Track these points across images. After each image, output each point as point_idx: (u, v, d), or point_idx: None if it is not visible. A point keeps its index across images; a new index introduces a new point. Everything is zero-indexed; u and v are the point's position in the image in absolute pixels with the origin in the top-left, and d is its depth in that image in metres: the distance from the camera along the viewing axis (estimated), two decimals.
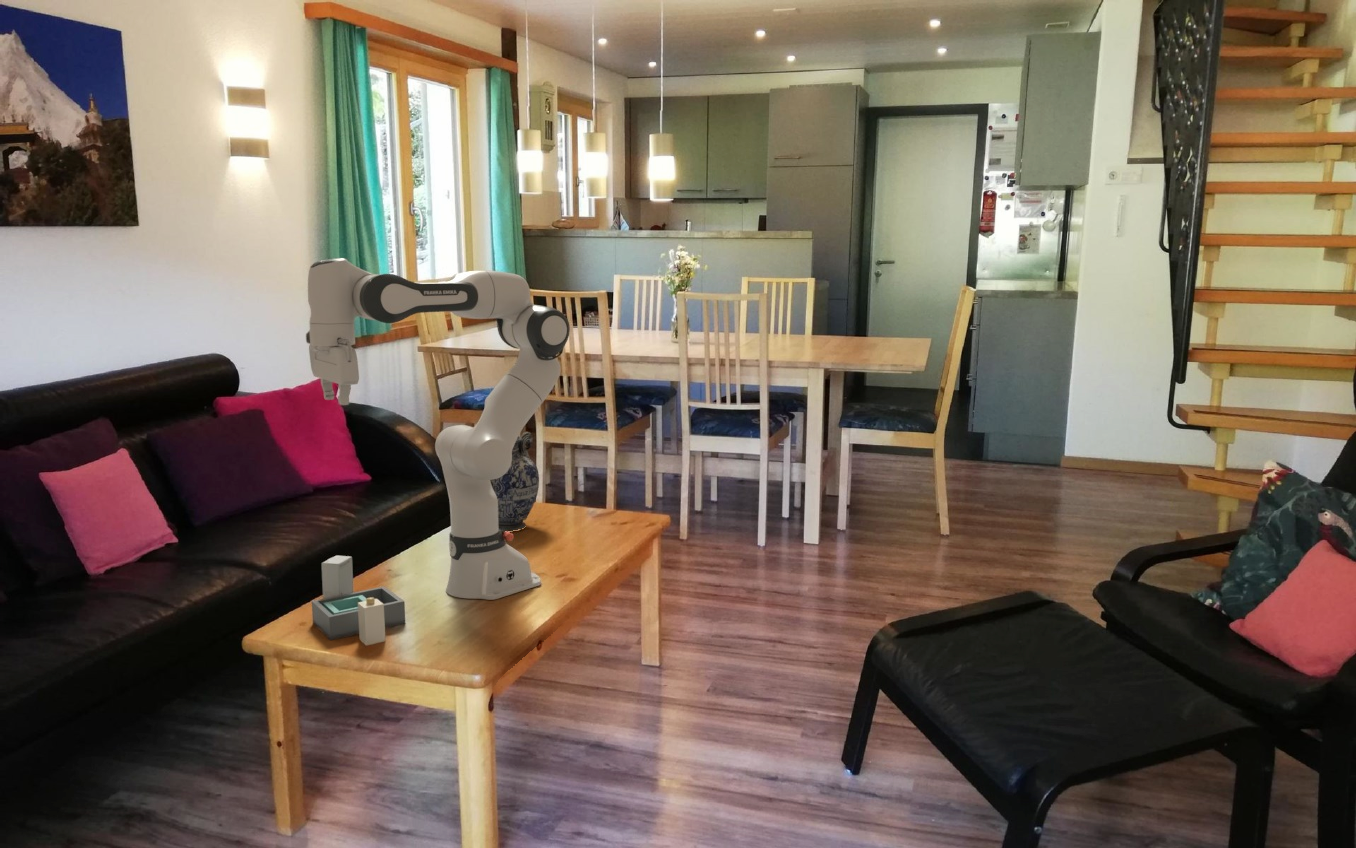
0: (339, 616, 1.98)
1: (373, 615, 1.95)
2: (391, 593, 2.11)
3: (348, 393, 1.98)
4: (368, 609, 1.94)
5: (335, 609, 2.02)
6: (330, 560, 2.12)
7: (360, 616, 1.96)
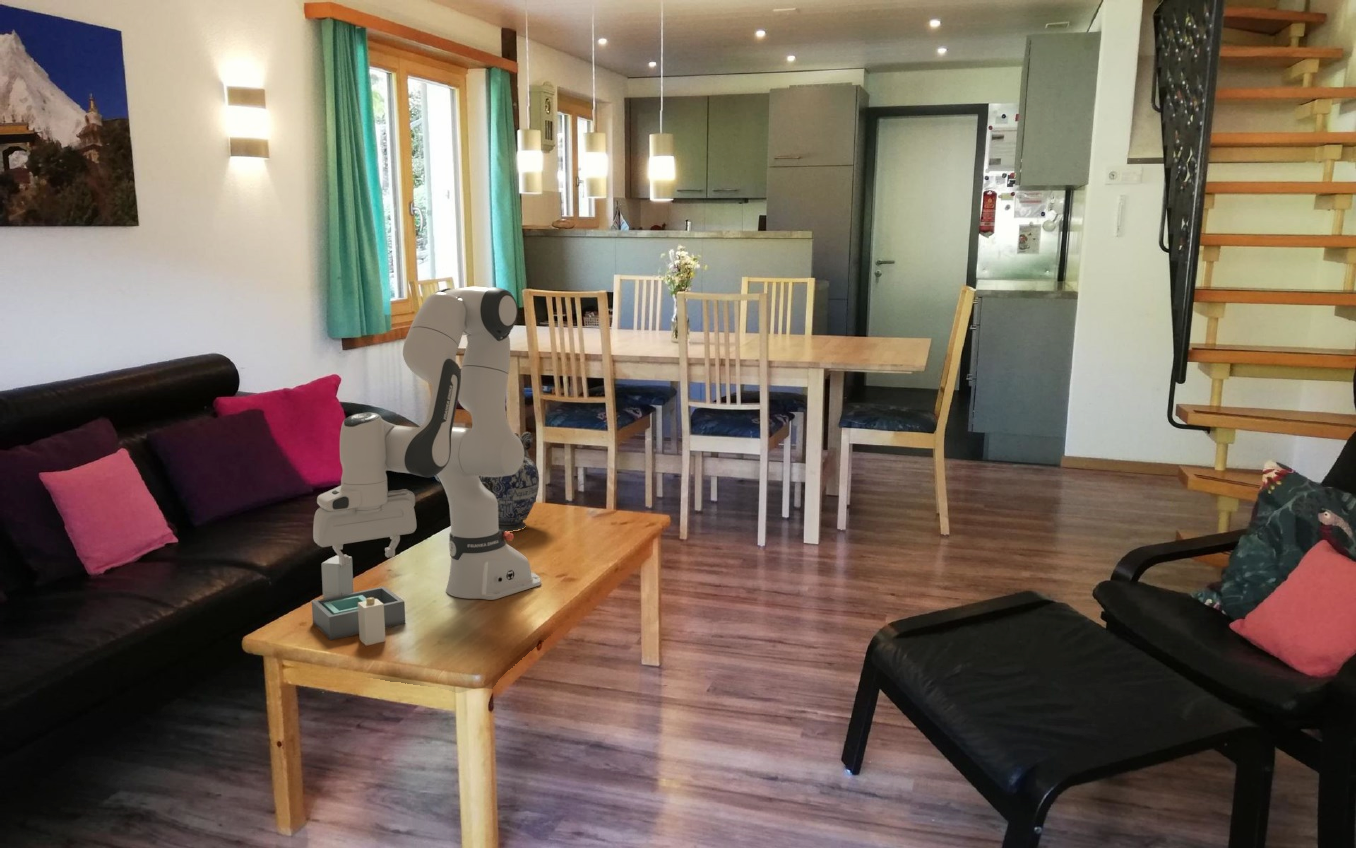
0: (339, 616, 1.98)
1: (373, 615, 1.95)
2: (391, 593, 2.11)
3: None
4: (368, 609, 1.94)
5: (335, 609, 2.02)
6: (330, 560, 2.12)
7: (360, 616, 1.96)
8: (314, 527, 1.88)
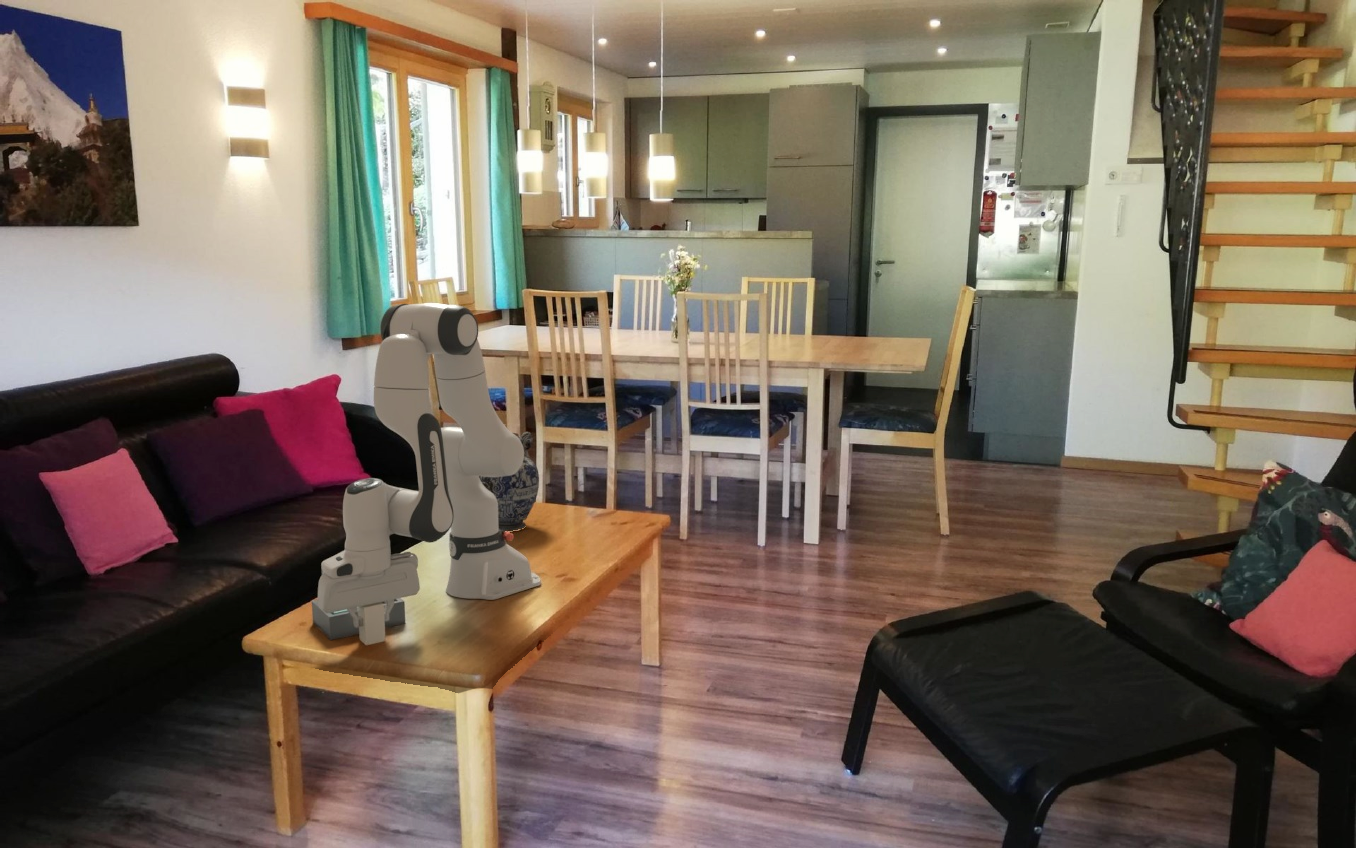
0: (339, 616, 1.98)
1: (373, 615, 1.95)
2: None
3: None
4: (368, 609, 1.94)
5: None
6: None
7: None
8: (318, 593, 1.91)
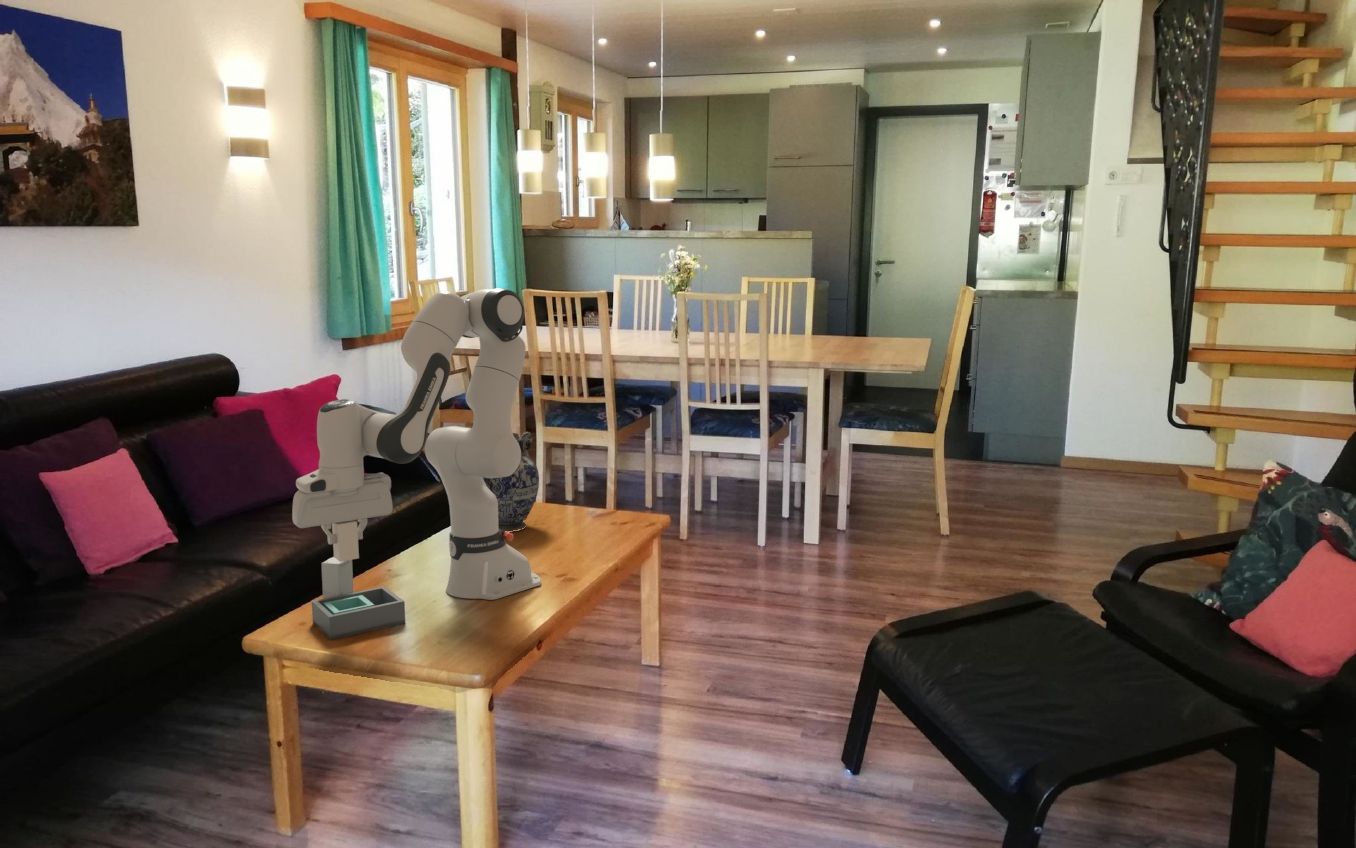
0: (339, 616, 1.98)
1: (347, 532, 2.00)
2: (391, 593, 2.11)
3: None
4: (342, 525, 2.00)
5: (335, 609, 2.02)
6: (330, 560, 2.12)
7: (334, 533, 2.01)
8: (293, 509, 1.96)
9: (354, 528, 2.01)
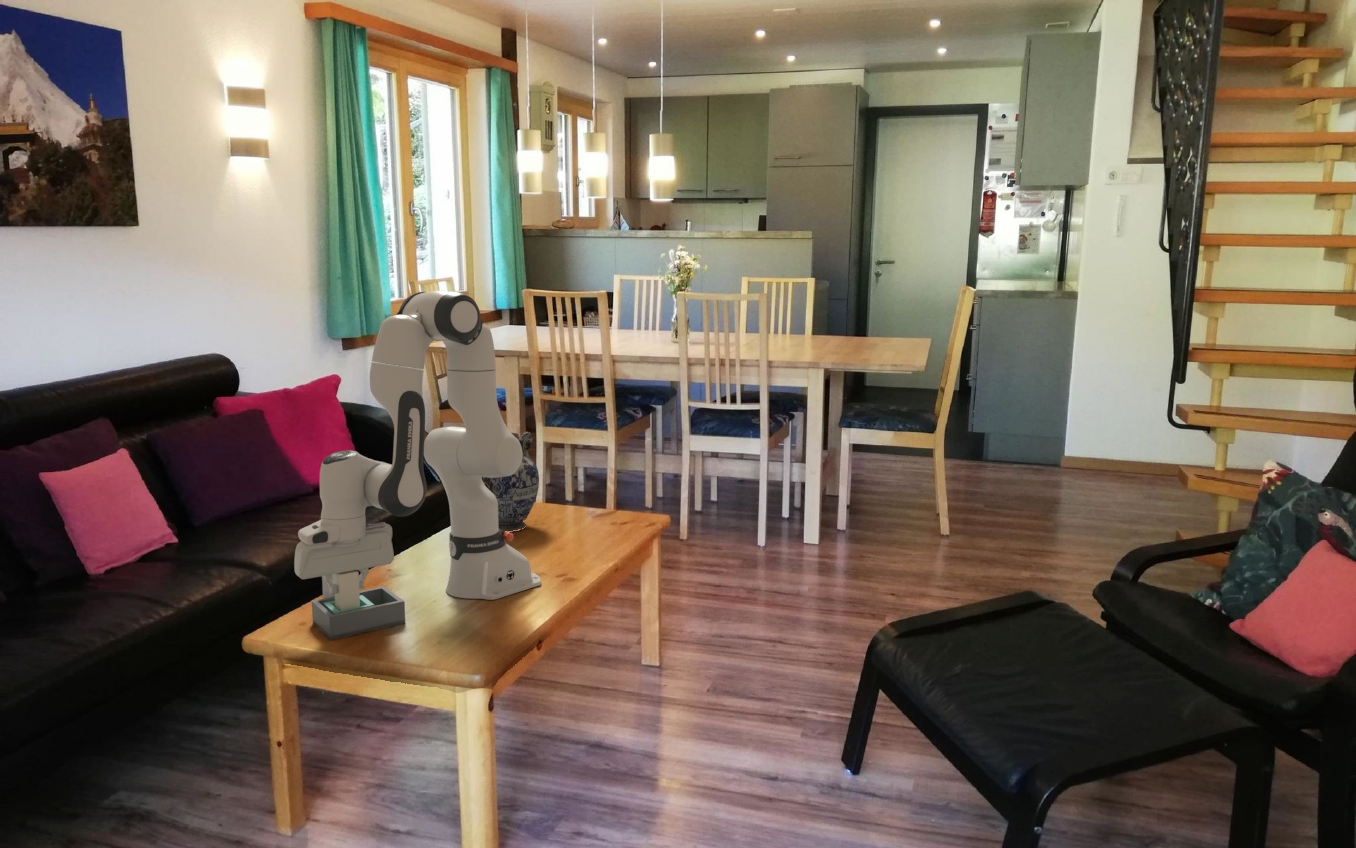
0: (339, 616, 1.98)
1: (348, 582, 2.02)
2: (391, 593, 2.11)
3: None
4: (343, 576, 2.01)
5: (335, 609, 2.02)
6: None
7: (336, 583, 2.03)
8: (295, 560, 1.98)
9: (355, 578, 2.03)
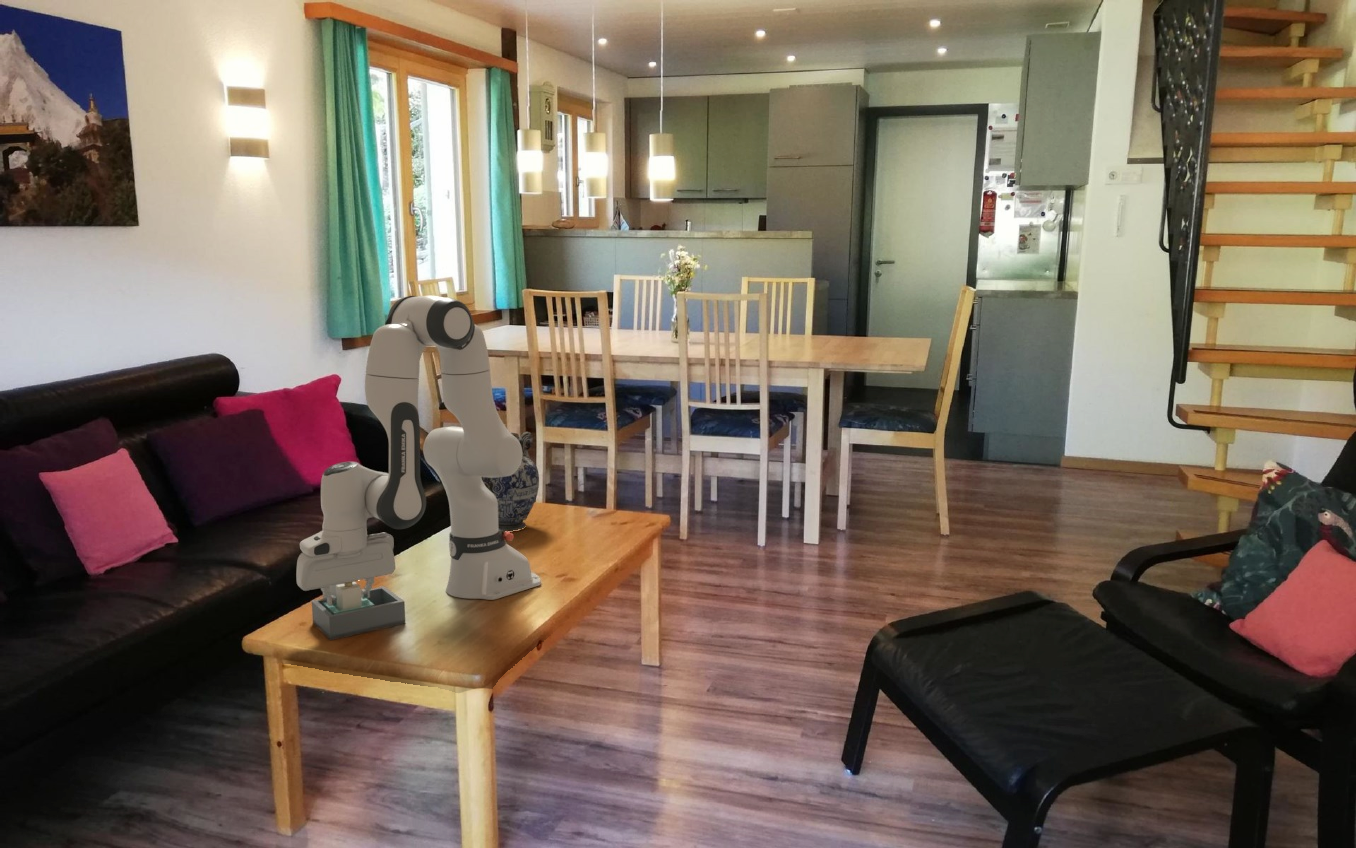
0: (339, 616, 1.98)
1: (351, 597, 2.03)
2: (391, 593, 2.11)
3: None
4: (346, 591, 2.02)
5: (335, 609, 2.02)
6: None
7: (338, 598, 2.04)
8: (297, 572, 1.98)
9: (358, 593, 2.04)
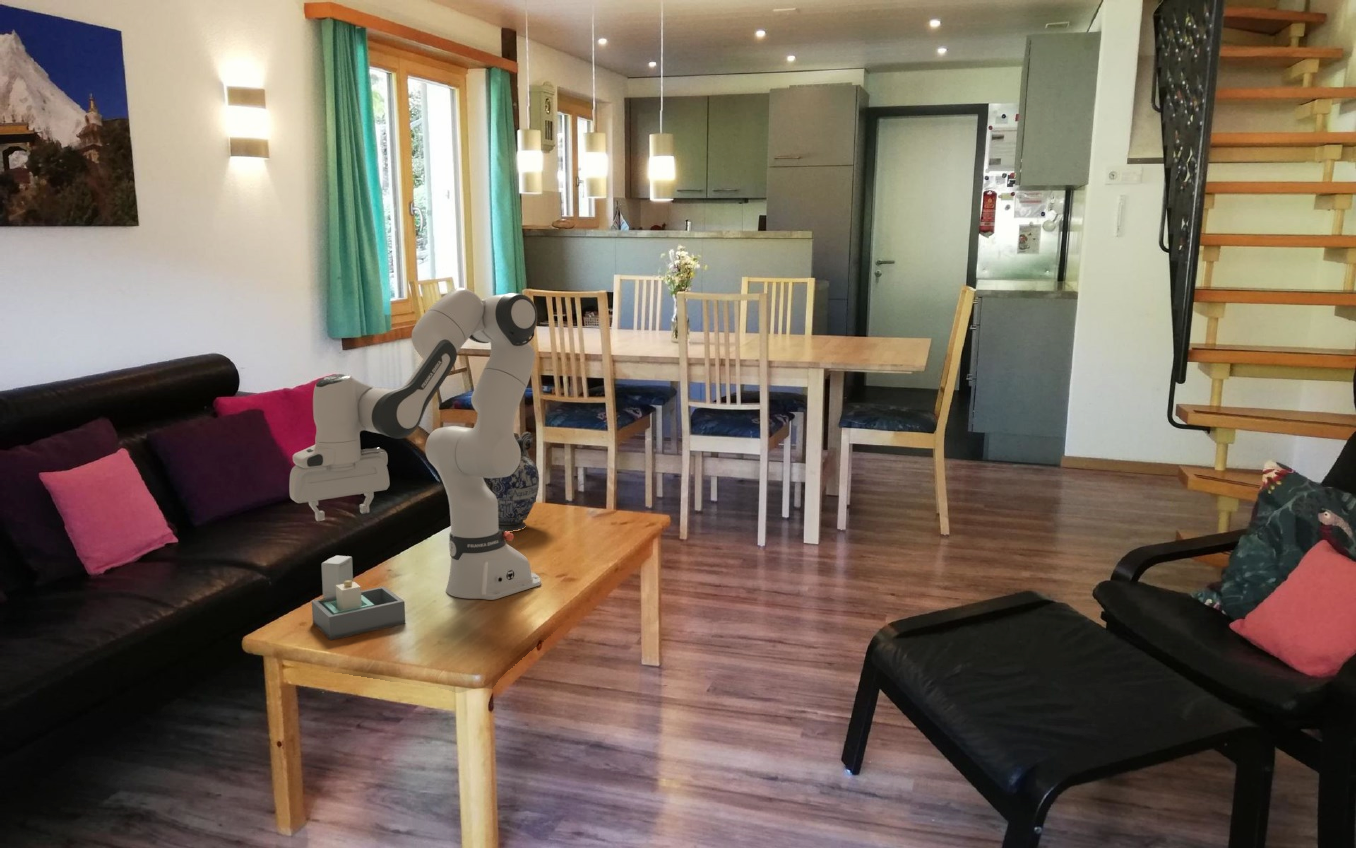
0: (339, 616, 1.98)
1: (350, 597, 2.03)
2: (391, 593, 2.11)
3: None
4: (345, 591, 2.02)
5: (335, 609, 2.02)
6: (330, 560, 2.12)
7: (338, 598, 2.04)
8: (290, 484, 1.96)
9: (358, 593, 2.04)
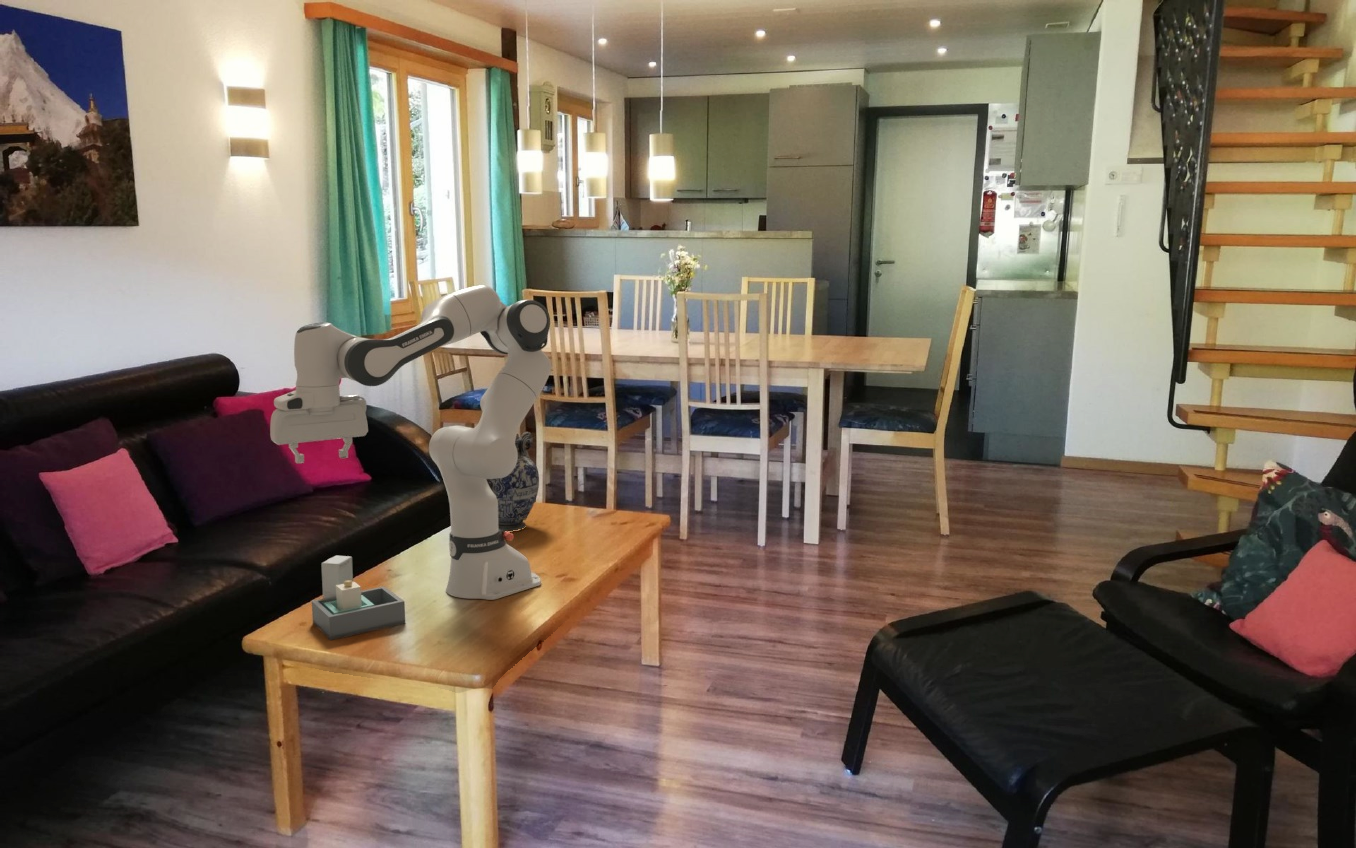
0: (339, 616, 1.98)
1: (350, 597, 2.03)
2: (391, 593, 2.11)
3: None
4: (345, 591, 2.02)
5: (335, 609, 2.02)
6: (330, 560, 2.12)
7: (338, 598, 2.04)
8: (271, 427, 2.04)
9: (358, 593, 2.04)
